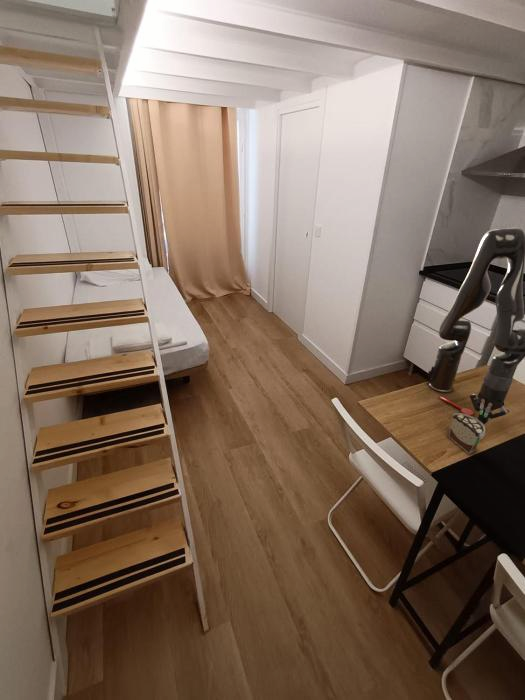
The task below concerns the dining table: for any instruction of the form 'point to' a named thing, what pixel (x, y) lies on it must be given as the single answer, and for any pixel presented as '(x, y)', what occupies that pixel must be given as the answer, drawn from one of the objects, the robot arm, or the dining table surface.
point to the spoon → (463, 410)
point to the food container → (466, 431)
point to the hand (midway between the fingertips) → (481, 423)
